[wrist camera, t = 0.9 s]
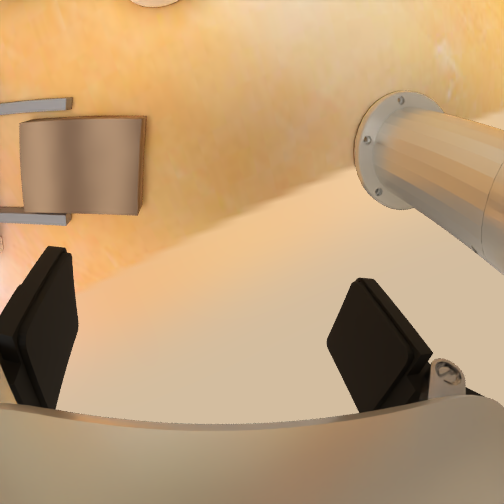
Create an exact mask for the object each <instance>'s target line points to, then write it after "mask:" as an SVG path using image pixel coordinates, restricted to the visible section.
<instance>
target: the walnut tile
mask: <svg viewBox="0 0 504 504" xmlns="http://www.w3.org/2000/svg"><path fill="white" fill-rule="evenodd" d="M146 117H147V116H79V117H59V118H44V119H32V120H29V121H26V122H22V123H20V165H21V180H22V192H23V202H24V211H25V212H40V213H82V214H112V215H137V216H138V213H139V211H140V208H141V206H142V184H143V160H144V143H145V129H146Z"/></svg>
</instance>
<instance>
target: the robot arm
mask: <svg viewBox="0 0 504 504" xmlns="http://www.w3.org/2000/svg"><path fill="white" fill-rule="evenodd" d="M364 137H365V140H364ZM354 157H355V166H356V170H357V174H358V177H359V179H360V181H361V184H362V185H363V187H364V188H365V190H366V191H367V192H368V194H370V196H372V197H373V198H374V199H375V200H376V201H378V202H380V203H381V204H382V205H384V206H386V207H389V208H392V209H397V210H406V209H411V208H415V209H417V210H418V211H420V212H421V213H423V214H424V215H425V216H427V217H428V218H430V219H431V220H433V221H434V222H436V223H437V224H438V225H440V226H441V227H442V228H444V229H445V230H447V231H448V232H449V233H451V234H452V235H453V236H455V237H456V238H457V239H459V240H460V241H461V242H463V243H464V244H465V245H466V246H468V247H469V248H470V249H472V250H473V251H474V252H475V253H477V254H478V255H479V256H481V257H482V258H483V259H484V260H486V261H487V262H488V263H489V264H490V265H492V266H493V267H494V268H495V269H497V270H498V271H499V272H500V273H502V274H503V275H504V130H501V129H497V128H494V127H491V126H488V125H485V124H481V123H478V122H475V121H471V120H467V119H464V118H460V117H456V116H452V115H448V114H445V113H444V112H443V110H442V109H441V108H440V106H439V105H438V104H437V103H436V102H434V101H433V100H432V99H431V98H429V97H427V96H426V95H424V94H420V93H417V92H412V91H397V92H393V93H390V94H387V95H386V96H384V97H382V98H381V99H379V100H378V101H377V102H376V103H375V104H373V105H372V106H371V107H370V109H369V110H368V111H367V113H366V114H365V116H364V117H363V119H362V122H361V124H360V126H359V128H358V132H357V136H356V139H355V149H354ZM77 332H78V316H77V308H76V299H75V289H74V279H73V266H72V255H71V253H67V251H66V249H65V248H62V247H54V246H48V247H47V248H46V250H45V251H44V252H43V254H42V255H41V256H40V258H39V259H38V261H37V262H36V264H35V265H34V266H33V268H32V269H31V271H30V272H29V274H28V275H27V277H26V278H25V280H24V281H23V283H22V284H21V285H19V286H18V287H17V289H16V290H15V292H14V294H13V295H12V297H11V298H10V300H9V302H8V303H7V305H6V306H5V308H4V310H3V311H2V313H1V315H0V504H504V407H503V406H502V405H501V404H500V403H498V402H497V401H495V400H493V399H490V398H487V397H484V396H482V395H480V394H478V393H476V392H474V391H472V390H470V389H468V388H466V387H465V377H464V374H463V373H462V371H461V370H460V369H459V368H458V366H456V365H455V364H454V363H452V362H451V361H448V360H446V359H441V358H438V359H435V360H434V361H433V362H432V363H431V364H429V363H428V360H429V358H430V357H431V355H432V354H433V352H432V351H431V350H430V348H429V347H428V346H427V344H426V343H425V342H424V340H423V339H422V338H421V337H420V336H419V334H418V333H417V332H416V330H415V329H414V328H413V326H412V325H411V324H410V323H409V321H408V320H407V319H406V318H405V316H404V315H403V314H402V313H401V311H400V310H399V309H398V308H397V306H396V305H395V304H394V303H393V301H392V300H391V299H390V298H389V297H388V295H387V294H386V293H385V292H384V290H383V289H382V288H381V287H380V286H379V285H378V283H377V282H376V281H375V280H374V279H368V278H358V279H357V280H356V281H355V282H353V283H352V284H351V286H350V289H349V291H348V293H347V295H346V298H345V300H344V302H343V305H342V307H341V309H340V312H339V314H338V316H337V318H336V321H335V323H334V325H333V327H332V329H331V332H330V334H329V336H328V338H327V347H328V349H329V352H330V354H331V356H332V358H333V359H334V362H335V364H336V366H337V368H338V370H339V372H340V374H341V376H342V378H343V380H344V382H345V384H346V386H347V388H348V390H349V392H350V394H351V396H352V399H353V401H354V403H355V405H356V407H357V409H358V411H359V413H357V414H350V415H343V416H335V417H328V418H319V419H310V420H300V421H289V422H273V423H253V424H182V423H180V424H179V423H162V422H147V421H135V420H127V419H117V418H109V417H100V416H92V415H85V414H79V413H73V412H67V411H61V410H55V409H56V404H57V400H58V397H59V393H60V389H61V385H62V381H63V378H64V374H65V371H66V367H67V364H68V360H69V357H70V354H71V350H72V347H73V344H74V341H75V338H76V335H77Z"/></svg>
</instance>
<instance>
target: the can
mask: <svg viewBox="0 0 504 504" xmlns="http://www.w3.org/2000/svg"><path fill="white" fill-rule="evenodd" d="M131 1H132V2H134V3H136V4H138V5H141V6H145V7H161V6H166V5H169V4H172V3H174V2H176V1H178V0H131Z"/></svg>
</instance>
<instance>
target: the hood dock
mask: <svg viewBox="0 0 504 504" xmlns="http://www.w3.org/2000/svg"><path fill="white" fill-rule="evenodd" d="M68 109H72V98H54V99H40V100H28V101H18V102H9V103H1V104H0V115H4V114H14V113H25V112H39V111H56V110H68ZM70 220H71V213H40V212H25V211H24V208H17V207H0V222H1V223H23V224H43V225H62V226H66V225H67V224H68V223H69V222H70ZM3 249H4V248H3V243H2V237H1V236H0V253H1V252H2V250H3Z"/></svg>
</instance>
